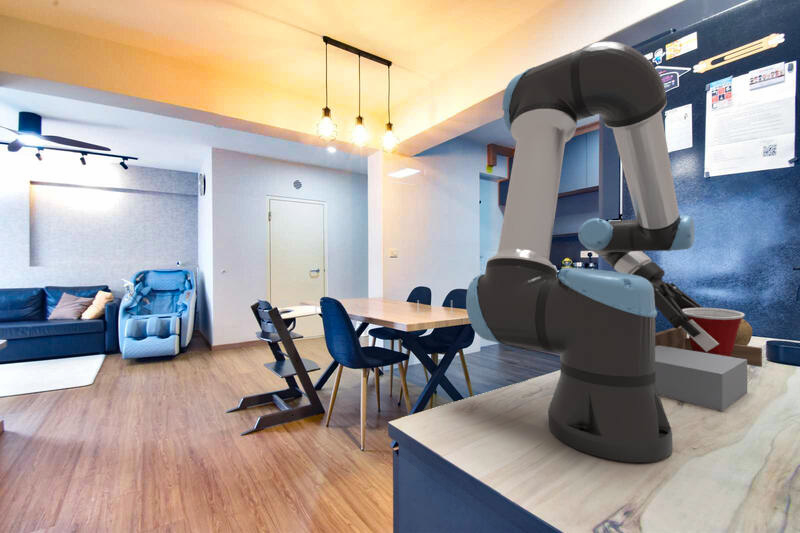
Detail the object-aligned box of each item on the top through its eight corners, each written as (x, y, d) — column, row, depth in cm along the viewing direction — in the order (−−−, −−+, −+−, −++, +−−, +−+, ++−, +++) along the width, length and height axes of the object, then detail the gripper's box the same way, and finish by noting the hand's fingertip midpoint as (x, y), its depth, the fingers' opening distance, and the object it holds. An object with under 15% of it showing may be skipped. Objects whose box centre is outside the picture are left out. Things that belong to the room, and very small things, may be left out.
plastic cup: (676, 364, 80) (676, 310, 80) (684, 355, 88) (684, 306, 88) (743, 375, 72) (743, 315, 72) (745, 364, 80) (746, 310, 80)
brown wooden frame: (731, 386, 69) (731, 349, 69) (643, 367, 81) (642, 336, 81) (762, 365, 82) (762, 334, 81) (681, 352, 94) (681, 325, 94)
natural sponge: (702, 353, 92) (702, 314, 92) (706, 347, 98) (706, 311, 98) (751, 360, 85) (751, 318, 85) (753, 353, 92) (753, 314, 91)
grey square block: (722, 411, 58) (722, 374, 58) (627, 386, 69) (627, 355, 69) (747, 392, 66) (747, 359, 66) (658, 373, 77) (658, 345, 77)
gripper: (647, 279, 100) (721, 347, 87) (607, 282, 88) (686, 362, 75) (669, 260, 96) (751, 328, 83) (630, 260, 83) (719, 341, 70)
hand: (720, 344), depth 79 cm, fingers closed on plastic cup, 9 cm apart
